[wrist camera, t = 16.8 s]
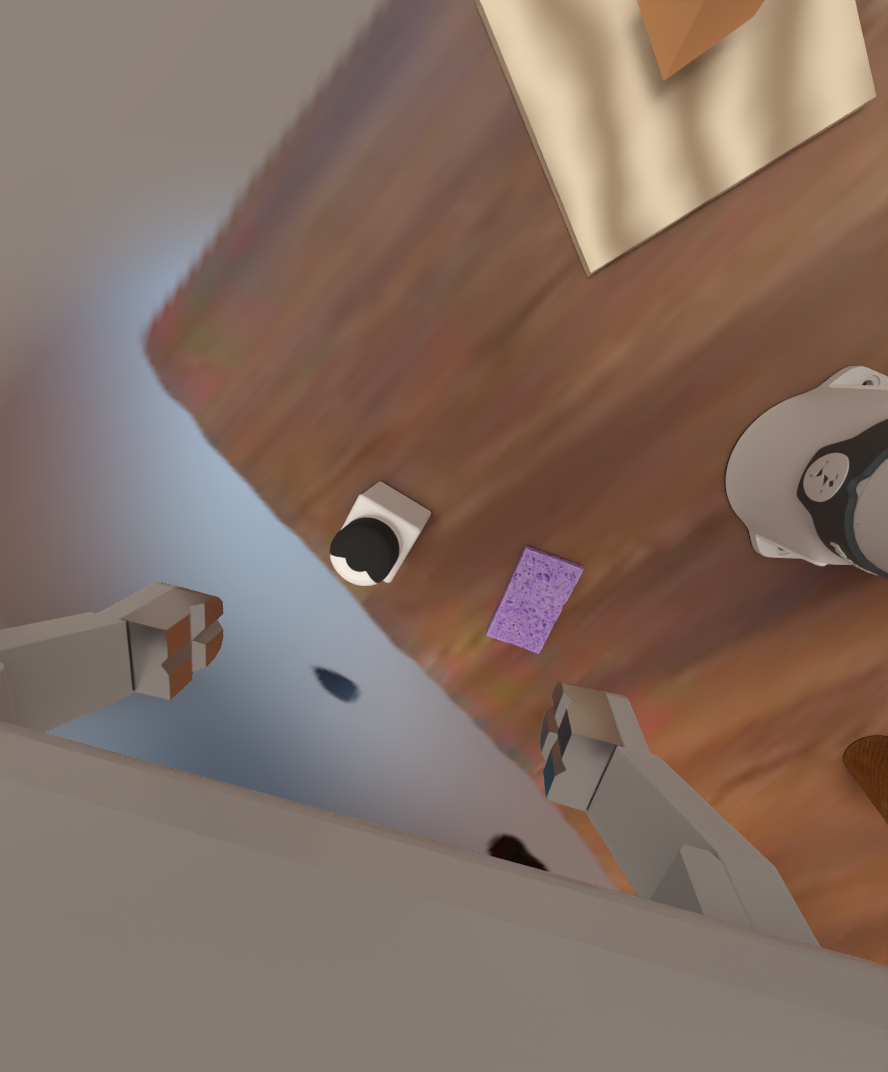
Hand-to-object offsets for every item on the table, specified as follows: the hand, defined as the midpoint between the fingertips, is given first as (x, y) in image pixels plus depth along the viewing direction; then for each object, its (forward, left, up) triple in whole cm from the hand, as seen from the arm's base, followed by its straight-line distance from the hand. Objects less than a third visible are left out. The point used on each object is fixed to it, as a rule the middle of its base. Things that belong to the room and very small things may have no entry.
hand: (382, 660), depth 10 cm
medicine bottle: (+8, +10, -37) cm, 39 cm away
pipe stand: (-8, -33, -37) cm, 50 cm away
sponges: (-10, +16, -38) cm, 42 cm away
